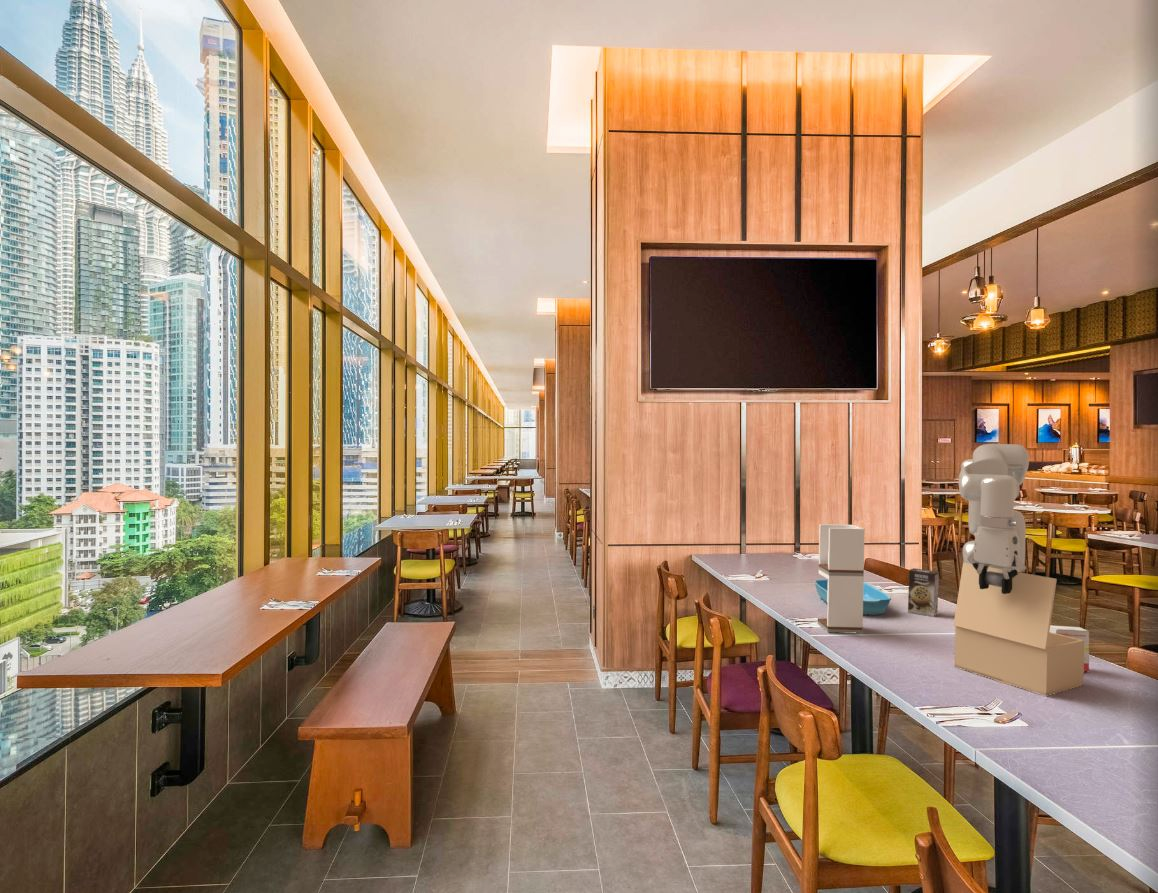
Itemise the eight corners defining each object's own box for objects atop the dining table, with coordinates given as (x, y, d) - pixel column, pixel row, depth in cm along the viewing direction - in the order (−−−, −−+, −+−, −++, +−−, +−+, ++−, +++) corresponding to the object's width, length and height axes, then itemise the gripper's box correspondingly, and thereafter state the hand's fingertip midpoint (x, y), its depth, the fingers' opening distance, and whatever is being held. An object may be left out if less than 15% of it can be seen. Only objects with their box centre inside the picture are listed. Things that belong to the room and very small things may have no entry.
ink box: (1079, 667, 193) (1080, 626, 192) (1089, 673, 188) (1090, 631, 188) (1046, 664, 194) (1047, 624, 194) (1055, 670, 189) (1056, 629, 189)
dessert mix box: (907, 612, 252) (908, 569, 251) (912, 609, 256) (912, 567, 256) (933, 617, 246) (934, 573, 245) (938, 613, 250) (939, 571, 250)
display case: (850, 624, 234) (852, 524, 233) (862, 633, 223) (864, 528, 223) (817, 624, 234) (819, 524, 234) (827, 632, 223) (829, 528, 223)
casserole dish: (900, 619, 243) (900, 599, 243) (838, 617, 244) (838, 598, 244) (861, 595, 280) (861, 578, 280) (807, 594, 281) (807, 577, 281)
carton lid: (964, 562, 192) (952, 560, 189) (1056, 579, 171) (1044, 576, 168) (955, 625, 190) (942, 623, 188) (1046, 649, 169) (1034, 647, 166)
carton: (991, 658, 199) (992, 618, 199) (1083, 685, 178) (1084, 640, 178) (954, 667, 191) (955, 625, 190) (1045, 696, 169) (1047, 649, 169)
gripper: (1038, 526, 173) (1037, 596, 173) (973, 518, 188) (971, 583, 188) (1022, 528, 169) (1020, 599, 169) (956, 520, 184) (955, 585, 184)
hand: (995, 590), depth 179 cm, fingers closed on carton lid, 5 cm apart
